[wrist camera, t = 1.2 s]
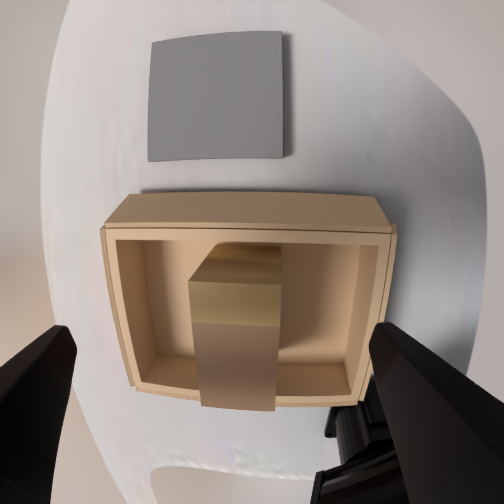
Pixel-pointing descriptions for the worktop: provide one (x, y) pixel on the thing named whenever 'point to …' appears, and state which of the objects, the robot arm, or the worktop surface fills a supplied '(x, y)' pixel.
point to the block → (237, 326)
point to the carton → (293, 285)
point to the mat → (216, 97)
